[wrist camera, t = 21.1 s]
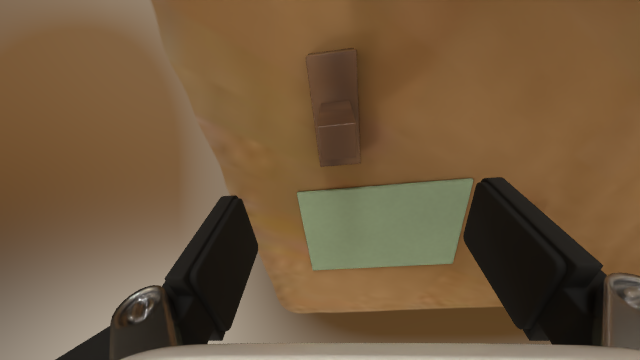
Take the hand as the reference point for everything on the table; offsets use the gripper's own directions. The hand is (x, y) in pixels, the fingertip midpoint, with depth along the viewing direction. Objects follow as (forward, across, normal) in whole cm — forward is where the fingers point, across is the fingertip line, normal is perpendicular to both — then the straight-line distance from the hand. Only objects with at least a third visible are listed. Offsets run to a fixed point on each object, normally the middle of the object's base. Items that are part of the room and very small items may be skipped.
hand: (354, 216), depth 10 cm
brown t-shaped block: (+16, +1, 0) cm, 16 cm away
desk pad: (+16, -4, +16) cm, 23 cm away
